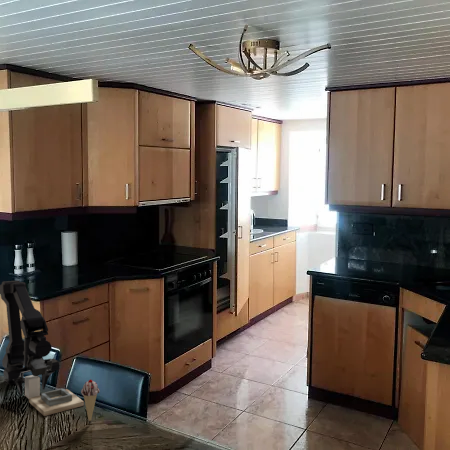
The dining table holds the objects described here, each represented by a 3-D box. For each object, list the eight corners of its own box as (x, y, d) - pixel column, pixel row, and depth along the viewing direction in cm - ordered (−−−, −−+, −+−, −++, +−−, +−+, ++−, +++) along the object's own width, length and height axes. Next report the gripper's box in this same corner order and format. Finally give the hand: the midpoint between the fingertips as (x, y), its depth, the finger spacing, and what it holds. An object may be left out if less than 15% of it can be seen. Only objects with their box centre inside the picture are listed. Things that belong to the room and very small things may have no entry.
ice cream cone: (79, 422, 163) (79, 377, 163) (97, 419, 166) (97, 375, 165) (82, 430, 158) (82, 383, 157) (100, 427, 161) (101, 381, 160)
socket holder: (29, 402, 178) (29, 392, 178) (67, 392, 187) (67, 383, 187) (44, 416, 167) (44, 405, 167) (83, 405, 177) (83, 395, 176)
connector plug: (24, 395, 184) (24, 376, 183) (35, 392, 186) (35, 374, 186) (28, 399, 181) (28, 379, 180) (39, 396, 183) (40, 377, 183)
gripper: (13, 360, 170) (13, 405, 171) (66, 350, 183) (66, 392, 184) (3, 352, 179) (2, 395, 180) (54, 343, 191) (54, 383, 192)
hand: (32, 391), depth 184 cm, fingers open, 8 cm apart
